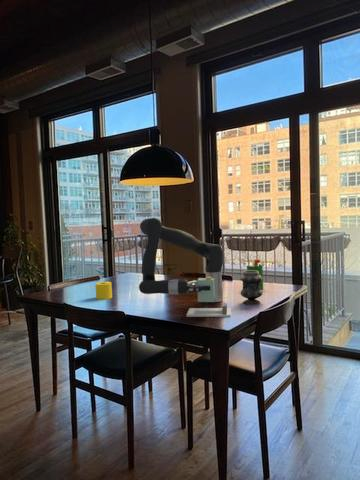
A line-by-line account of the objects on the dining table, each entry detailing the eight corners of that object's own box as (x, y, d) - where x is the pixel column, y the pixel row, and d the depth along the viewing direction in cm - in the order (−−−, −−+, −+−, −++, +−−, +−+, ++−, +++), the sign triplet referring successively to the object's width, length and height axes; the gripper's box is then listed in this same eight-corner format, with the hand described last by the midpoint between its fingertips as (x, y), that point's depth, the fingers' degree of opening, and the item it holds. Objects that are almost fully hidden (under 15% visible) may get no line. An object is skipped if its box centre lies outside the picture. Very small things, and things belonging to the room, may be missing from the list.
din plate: (186, 316, 189) (186, 306, 188) (189, 310, 201) (189, 300, 201) (230, 316, 185) (230, 306, 185) (231, 310, 198) (230, 300, 197)
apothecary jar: (266, 302, 211) (266, 270, 209) (254, 306, 203) (253, 273, 201) (249, 299, 220) (248, 268, 218) (236, 303, 211) (235, 271, 210)
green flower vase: (256, 286, 253) (255, 257, 252) (266, 288, 246) (265, 258, 244) (245, 289, 248) (244, 259, 246) (255, 291, 240) (254, 260, 239)
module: (197, 301, 189) (197, 278, 188) (199, 299, 195) (198, 276, 194) (213, 301, 187) (213, 278, 187) (214, 299, 193) (214, 276, 192)
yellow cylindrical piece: (111, 295, 245) (110, 281, 245) (113, 298, 236) (112, 283, 235) (95, 297, 242) (94, 282, 242) (96, 300, 233) (96, 285, 232)
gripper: (175, 282, 185) (209, 282, 183) (180, 277, 200) (211, 277, 197) (176, 297, 186) (210, 297, 183) (180, 291, 200) (212, 291, 197)
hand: (210, 286), depth 190 cm, fingers closed on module, 6 cm apart
